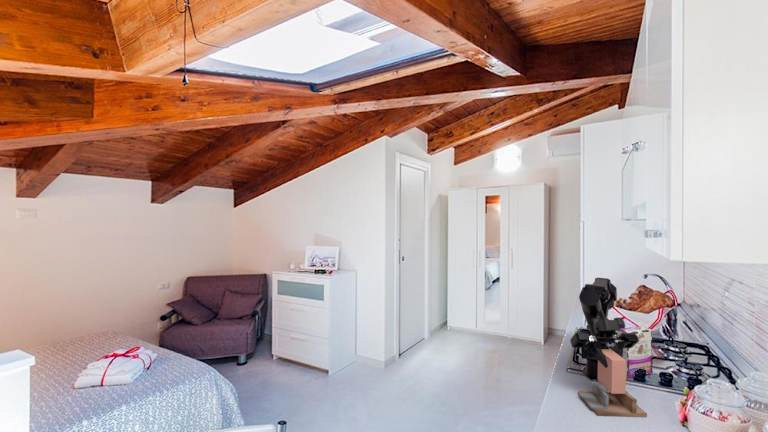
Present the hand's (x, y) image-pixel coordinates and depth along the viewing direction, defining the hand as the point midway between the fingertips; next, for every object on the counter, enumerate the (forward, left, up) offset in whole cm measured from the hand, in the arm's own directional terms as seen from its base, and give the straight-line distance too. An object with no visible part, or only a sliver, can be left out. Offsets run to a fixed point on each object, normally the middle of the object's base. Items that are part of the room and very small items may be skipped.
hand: (614, 367), depth 112 cm
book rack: (-1, 0, -12) cm, 12 cm away
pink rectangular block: (-2, 0, -7) cm, 7 cm away
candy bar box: (-23, +20, -13) cm, 33 cm away
